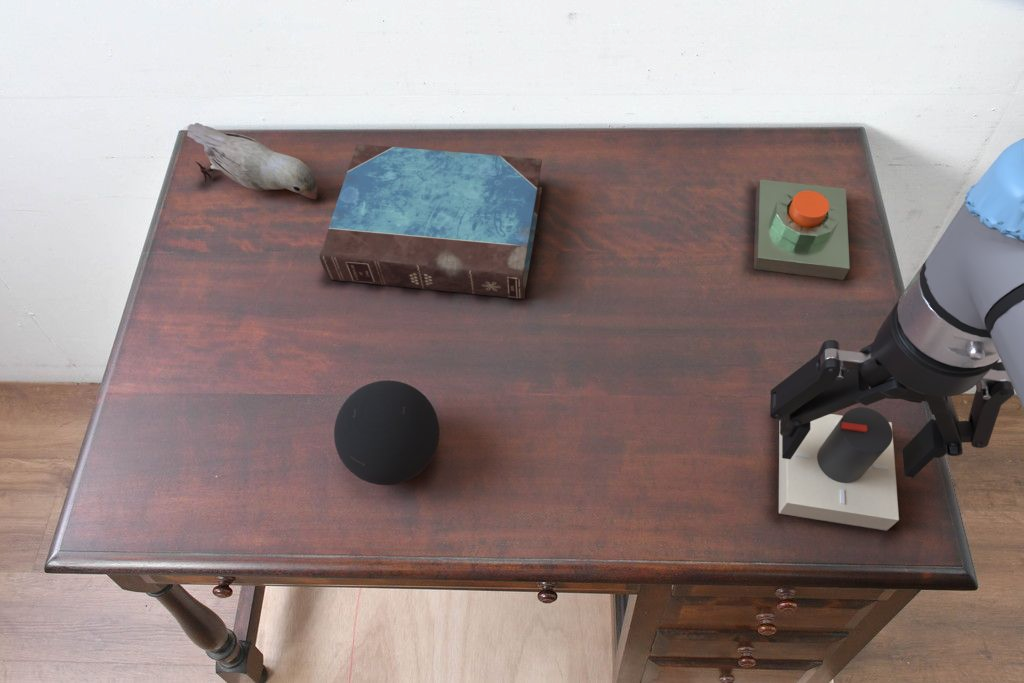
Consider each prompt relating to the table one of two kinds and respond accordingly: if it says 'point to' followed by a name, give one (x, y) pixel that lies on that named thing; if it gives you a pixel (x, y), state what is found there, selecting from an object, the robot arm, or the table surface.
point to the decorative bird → (252, 162)
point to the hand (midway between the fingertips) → (846, 454)
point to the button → (808, 208)
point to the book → (435, 221)
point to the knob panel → (837, 485)
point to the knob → (854, 444)
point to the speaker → (386, 432)
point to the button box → (800, 233)
